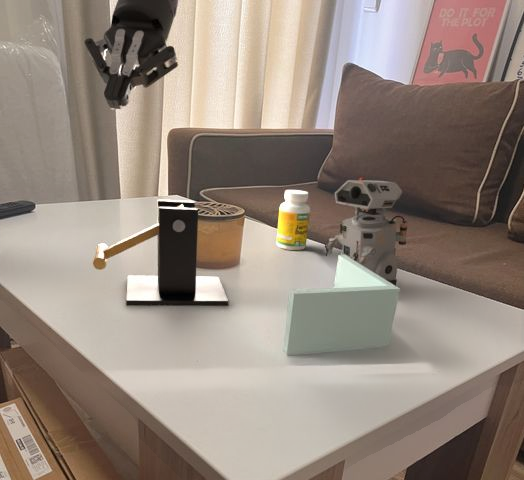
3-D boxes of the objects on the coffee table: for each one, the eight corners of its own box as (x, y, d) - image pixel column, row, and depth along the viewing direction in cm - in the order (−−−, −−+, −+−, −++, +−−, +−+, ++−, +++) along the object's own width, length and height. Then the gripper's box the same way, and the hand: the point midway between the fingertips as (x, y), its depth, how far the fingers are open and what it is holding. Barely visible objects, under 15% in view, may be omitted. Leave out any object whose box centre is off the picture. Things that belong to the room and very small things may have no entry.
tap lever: (99, 275, 60) (88, 257, 59) (102, 259, 65) (92, 242, 64) (194, 230, 60) (185, 211, 59) (190, 218, 65) (181, 200, 64)
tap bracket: (126, 312, 61) (123, 210, 56) (127, 286, 69) (125, 194, 64) (227, 312, 64) (234, 215, 59) (218, 287, 72) (222, 199, 67)
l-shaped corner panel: (335, 311, 67) (344, 254, 64) (386, 353, 57) (400, 288, 54) (247, 317, 63) (252, 256, 60) (285, 363, 53) (294, 293, 50)
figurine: (306, 277, 79) (319, 173, 72) (362, 269, 85) (380, 173, 78) (345, 297, 72) (363, 185, 66) (403, 288, 78) (426, 184, 72)
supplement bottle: (287, 240, 97) (292, 187, 93) (311, 247, 95) (318, 193, 90) (269, 245, 93) (275, 190, 89) (294, 252, 91) (301, 195, 86)
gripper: (92, -24, 70) (53, 75, 64) (188, -16, 68) (156, 86, 63) (110, 27, 77) (76, 121, 71) (198, 35, 76) (170, 131, 70)
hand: (114, 104), depth 67 cm, fingers closed
